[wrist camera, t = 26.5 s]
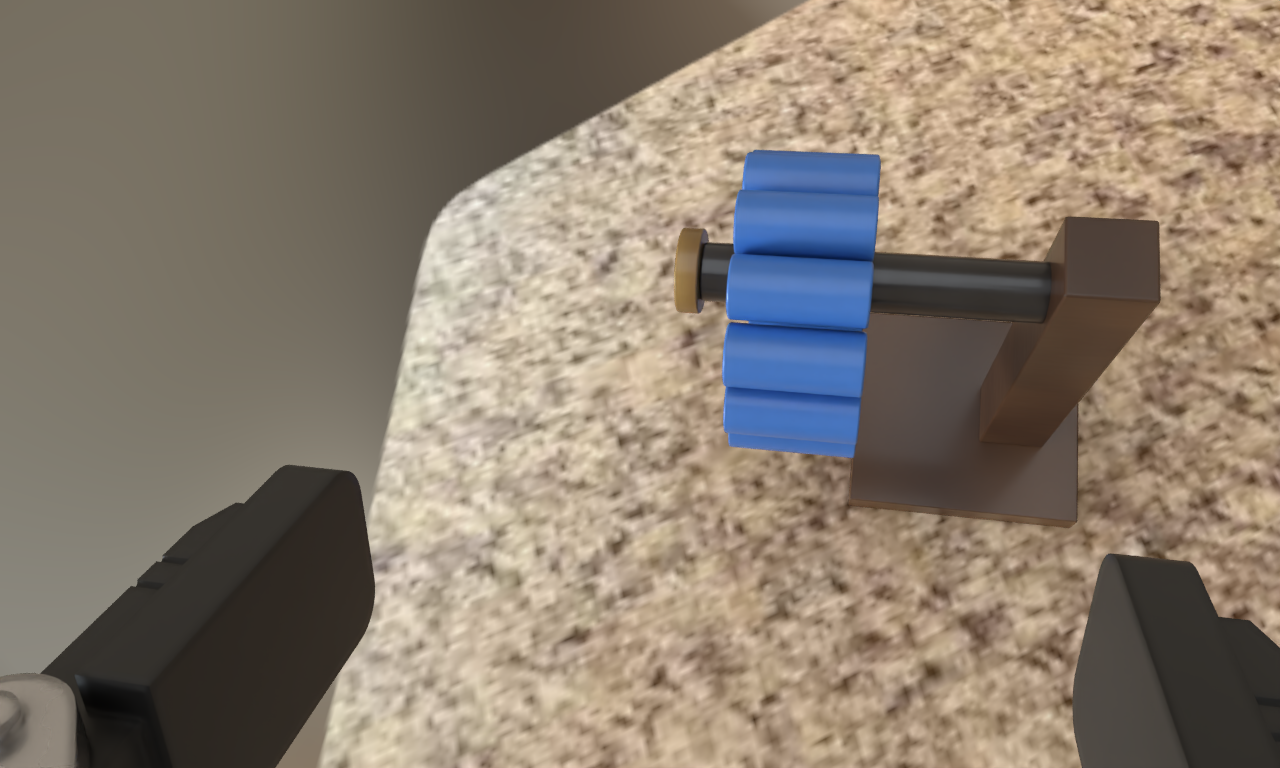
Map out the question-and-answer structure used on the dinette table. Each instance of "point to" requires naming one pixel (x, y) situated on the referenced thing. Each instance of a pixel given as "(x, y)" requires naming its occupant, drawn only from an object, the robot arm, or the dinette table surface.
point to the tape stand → (979, 366)
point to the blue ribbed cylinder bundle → (800, 301)
